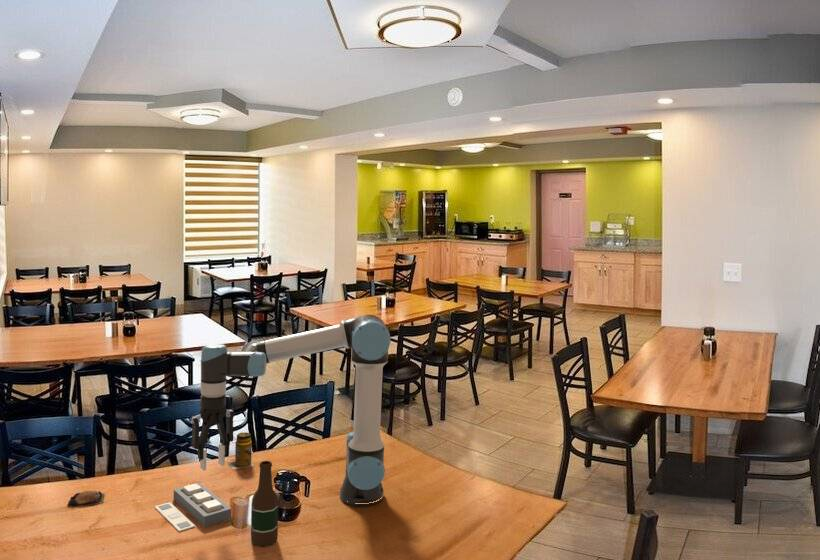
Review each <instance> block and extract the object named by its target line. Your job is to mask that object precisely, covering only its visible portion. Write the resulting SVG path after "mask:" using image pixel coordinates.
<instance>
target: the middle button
mask: <svg viewBox="0 0 820 560" xmlns="http://www.w3.org/2000/svg"><path fill="white" fill-rule="evenodd" d="M192 501H193V502H194V503H196V504H201V503H204V502H207V501H211V495H210V494H209V493H207V492H206V491H204V492H200V493H196V494H193V499H192Z"/></svg>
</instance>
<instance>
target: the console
mask: <svg viewBox="0 0 820 560" xmlns="http://www.w3.org/2000/svg"><path fill="white" fill-rule="evenodd" d="M196 484H197V485H199V486H200V487H201V488H202V492H204V491H206V492H207V493H209V494H210V495H211V500H214V499H216V500H217V501H218V502H220V503H221V504H222V509H220V510H217V511H213V512H210V513H206V512H205V511H204V510H202V503H201V504H196V503H194V502H193V501H192V499H193V495H190V496H186V495H185V494H184V493H183V487H184V486H182V487H179V488H175V489H173V501H175V503H177V505H179V506H180V508H182V509H183V510H184V511H185V512H187V514H189V516H191V517H192V518H193V519H194V520H195V521H196V522H197V523H199V524H200V525H201V526H202V527H203V528H207V527H210V526H215V525H216V524H217V525H218V524H220V523H221V524H222V523H224V522H226V521H230V520H232V516H233V515H232V516H231V508H232V507H231V506H230V505H228V504H227V503H226V502H225V501H223V500H222V499H221V498H219V496H217V495H216V494H215V493H214V492H212V491H211V490H210V489H209V488H207V487H206V486H204V485H203V484H202V483H201V482H198V483H196Z"/></svg>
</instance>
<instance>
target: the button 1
mask: <svg viewBox="0 0 820 560" xmlns="http://www.w3.org/2000/svg"><path fill="white" fill-rule="evenodd" d="M182 487H183V493H184V494H185V495H186V496H190V495H193V494H196V493H200V492H202V488H201V487H200V486H199V485H197V483H192V484H189V485H186V486H182Z"/></svg>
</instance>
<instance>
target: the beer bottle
mask: <svg viewBox="0 0 820 560" xmlns="http://www.w3.org/2000/svg"><path fill="white" fill-rule="evenodd" d="M258 466H259V479H258V486H257V489H256V491H255V493H253V496H252V499H251V511H250V513H251V514H250V515H251V516H250V517H251V518H250V520H251V521H250V541H251V542H252V544H253V546H255V547H259V548H265V547H270V546H272V545H273V544H275V543H276V542H277V541H278V535H279V533H278V532H279V531H278V530H279V529H278V527H279V499H278V498H279V497H278V495H277V493H276V491H275V490H274V488H273V480H272V479H273V478H272V476H273V475H272V467H273V463H272V461H270V460H263V461H261V462H260V463H259V465H258Z"/></svg>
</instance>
